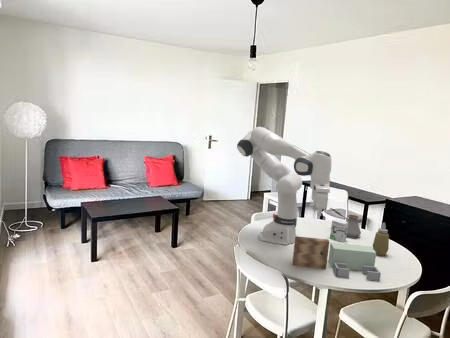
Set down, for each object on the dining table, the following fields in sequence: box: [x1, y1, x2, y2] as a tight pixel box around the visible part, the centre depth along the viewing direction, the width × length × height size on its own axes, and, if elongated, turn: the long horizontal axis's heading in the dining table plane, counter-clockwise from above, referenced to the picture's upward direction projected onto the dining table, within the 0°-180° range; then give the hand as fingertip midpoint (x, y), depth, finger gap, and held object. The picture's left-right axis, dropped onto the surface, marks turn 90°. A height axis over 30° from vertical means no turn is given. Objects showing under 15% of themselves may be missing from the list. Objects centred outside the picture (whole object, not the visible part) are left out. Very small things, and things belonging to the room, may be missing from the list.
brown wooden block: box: [292, 235, 330, 270], centre depth 162 cm, size 16×4×14 cm, turn 84°
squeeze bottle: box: [372, 222, 390, 257], centre depth 182 cm, size 8×8×18 cm
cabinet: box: [327, 242, 382, 282], centre depth 161 cm, size 17×20×10 cm
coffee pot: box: [329, 207, 362, 239], centre depth 212 cm, size 21×12×15 cm, turn 50°
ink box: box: [329, 218, 348, 243], centre depth 202 cm, size 9×5×12 cm, turn 48°
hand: (317, 212), depth 161 cm, fingers open, 8 cm apart
